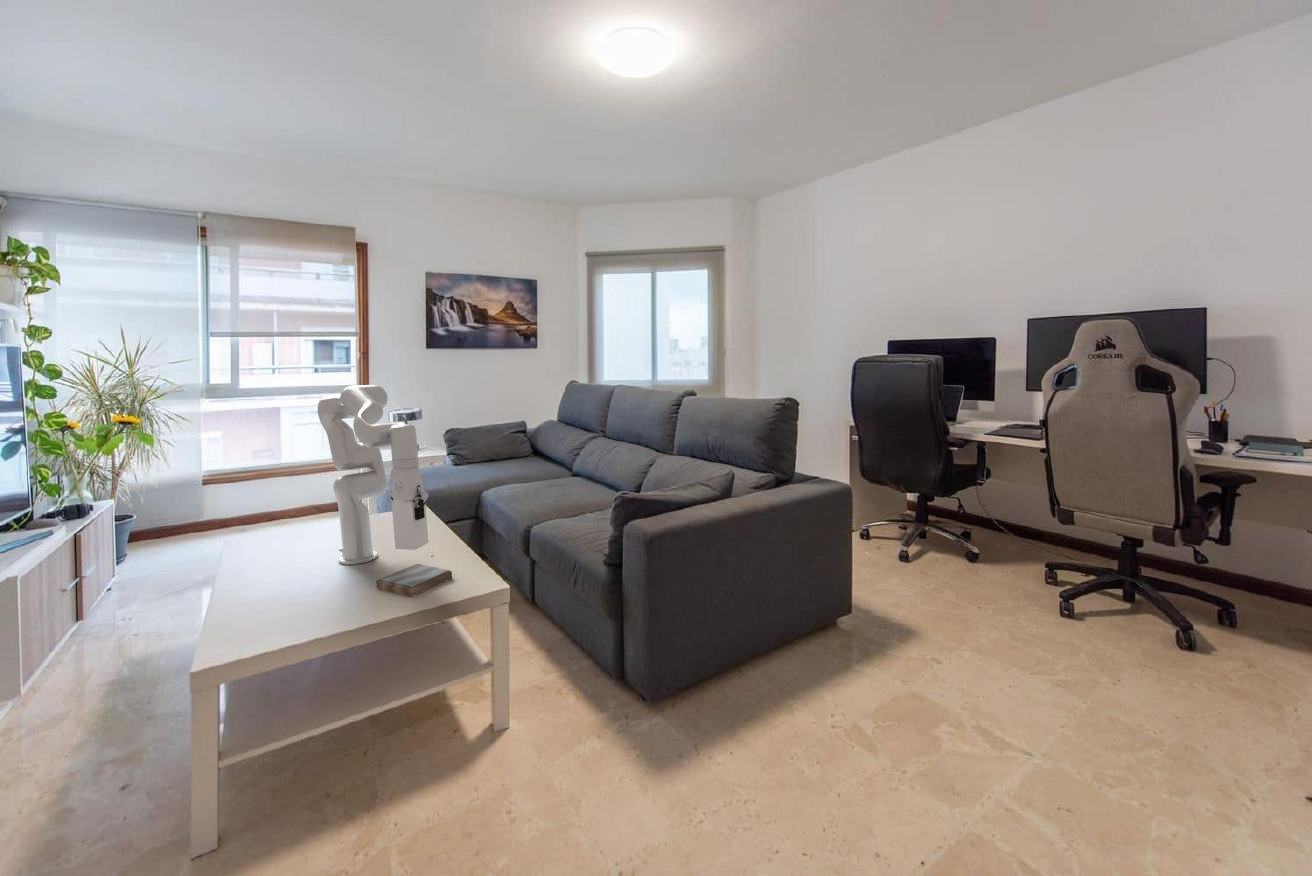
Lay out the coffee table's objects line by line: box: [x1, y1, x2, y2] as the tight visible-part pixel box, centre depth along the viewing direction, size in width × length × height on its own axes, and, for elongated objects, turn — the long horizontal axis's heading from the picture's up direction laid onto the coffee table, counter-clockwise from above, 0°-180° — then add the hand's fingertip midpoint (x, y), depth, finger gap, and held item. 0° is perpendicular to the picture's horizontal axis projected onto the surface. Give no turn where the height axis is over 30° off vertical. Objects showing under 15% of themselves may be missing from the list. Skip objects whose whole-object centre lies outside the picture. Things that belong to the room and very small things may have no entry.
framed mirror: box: [375, 563, 453, 598], centre depth 184 cm, size 16×16×3 cm
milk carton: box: [391, 492, 429, 551], centre depth 181 cm, size 7×7×19 cm
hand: (410, 517), depth 181 cm, fingers closed on milk carton, 8 cm apart
